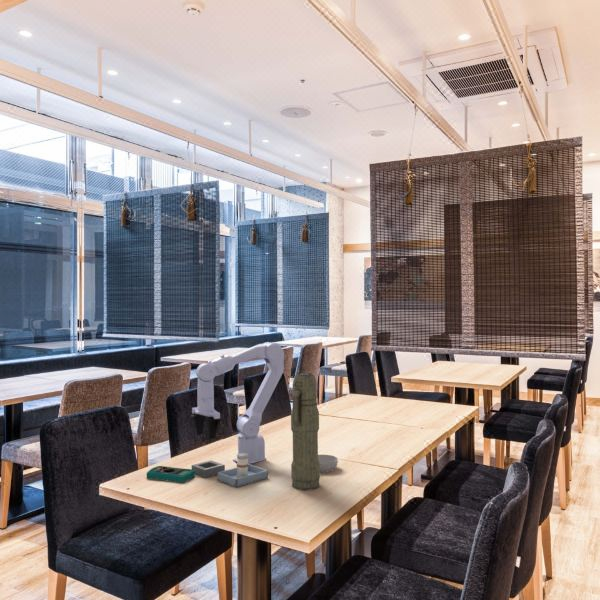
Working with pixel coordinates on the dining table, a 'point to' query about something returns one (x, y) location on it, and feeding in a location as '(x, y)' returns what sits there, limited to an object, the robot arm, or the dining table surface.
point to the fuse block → (208, 468)
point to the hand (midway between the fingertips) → (205, 436)
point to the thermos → (305, 433)
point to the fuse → (242, 465)
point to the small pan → (327, 462)
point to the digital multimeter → (170, 474)
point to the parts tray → (231, 477)
